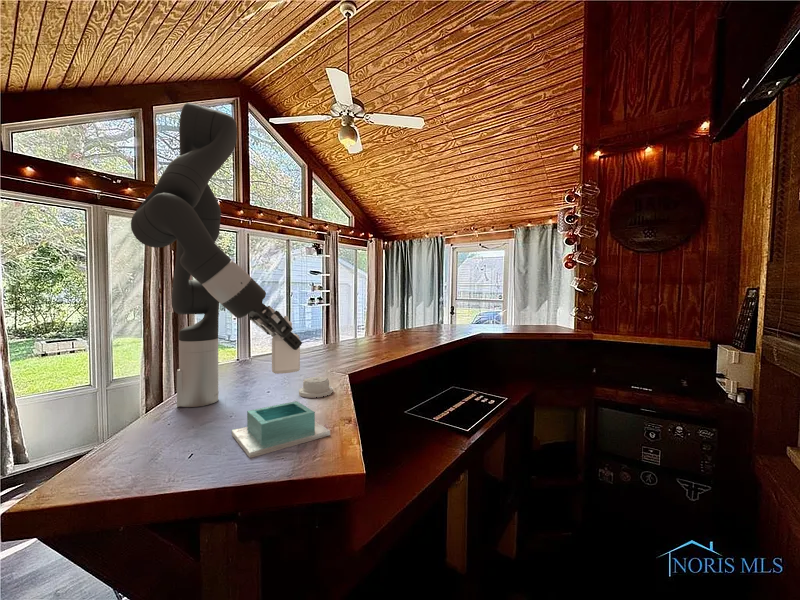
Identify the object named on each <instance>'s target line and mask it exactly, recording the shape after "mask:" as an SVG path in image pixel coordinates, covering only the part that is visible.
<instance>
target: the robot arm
mask: <svg viewBox="0 0 800 600" xmlns="http://www.w3.org/2000/svg"><path fill="white" fill-rule="evenodd" d="M178 131H179V133H178V134H179V135H178V136H179V156H177V157H176V158H174V159H173V160H172V161H170V162H169V164H168V165H167V166H166V168H165V170H164V171H163V173H162V174H161V176H160V177H159V179H158V181H157V184H155V187H154V189H153V190H152V191H151V192H150V194H149V195H148V196H147V197H146V198H145V200H144V201H143V202H142V203H141V204H140V206H138V208H137V209H136V211H135V212H134V214H133V215H132V216H131V221H130V228H131V231H132V234H133V235H134V237H135V239H136V240H137V241H139V242H140V243H141V244H143V245H144V246H146V247H149V248H156V249H157V248H166V247H168V246H169V245H171V244H173V243H174V242H176V253H175V254H176V258H175V266H174V273H173V282H172V288H171V289H172V293H171V305H172V307H171V308H172V309H173V312H174V313H176V314H178V315H204V316H203V317H202V319H201V320H199V321H198V322H196V323H194V324H191V325H189V326H186V327H184V328H181V329H179V332H178V369H177V370H176V407H183V408H196V407H197V408H198V407H204V406H209V405H211V404H214V403H216V402H218V401H219V392H220V391H219V316H220V315H219V314H220V313H219V312H220V304H221V305H222V306H223V307H224V308H225V309H226V310H227V311H228V312H229V313H231V314H232V315H233V316H234V317H235V318H237V319H241V318H244V317H245V316H247V315H249V316H248V320H249V321H251V322H252V323H254V324H255V325H256V326H257V327H259V328H260V329H261V330H262V331H264V332H265V333H266V334H267V335H269V336H271V337H272V338H273V336H275V335H278V336H279V337H280V338H281V339H283V340H284V341H285V342H286V343H287V344H288V345H289V346H290V347H291V348H292V349H294V350H297V349H298V348H299V347H301V346H302V345H303V342H302V341H301V339H300V340H299V339H298V338H297V337H296V336H295V335H294V334H295V333H294V332H293V326H292V327H291V326H290V325H289V324H288V322H287V321H286V320H285V319H284V315H282V314H281V312H280V311H278V310H275V309H274V308H273V307H271V306H270V305H267V306H266V304H265V303H263V301H264V299H265V298H266V295H267V293H266V291H265V290H264V288H262V287H261V286H260V284H258V283H257V281H255V279H253V278H252V277H251V276H250V274H249V273H247V272H246V270H244V268H242V267H241V266H240V265H239V264H238V263H236V262H234V260H233V259H231V258H230V257H229V256H228V255H227V253H225V252H224V251H223V250H222V249H221V247H219V246H218V245H217V244H216V241H217V240H218V238H219V236H220V228H221V219H222V218H221V217H222V210H221V206H220V203H219V202H218V199H217V198H216V195H215V194H214V192H213V190H212V189H211V186H210V185H209V181H210V180H211V178H212V177H213V176H214V175H215V174H216V173H217V172H218V171H219V170H220V168H221V167H222V166H223V165H224V164H225V163H226V161H228V159H229V158H230V157H231V155H232V154H233V152H234V150H235V147H236V144H237V138H238V127H237V123H236V120H235V119H234V117H232V116H231V115H229V114H227V113H225V112H222V111H219V110H216V109H213V108H209V107H206V106H202V105H199V104H196V103H192V102H186V103H185V104H184V105H183V106H182V108H181V112H180V115H179V129H178ZM191 277H192V278H193V279H190V278H191ZM282 328H284V330H283V331H281V329H282ZM293 333H294V334H293Z"/></svg>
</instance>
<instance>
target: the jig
mask: <svg viewBox="0 0 800 600" xmlns="http://www.w3.org/2000/svg"><path fill="white" fill-rule="evenodd" d="M246 413H247V415H246V417H247V418H246V419H247V420H246V423H247V425H246V426H245V427H239V428H235V429H231V436H232V437H233V438H234V440H235V441H236V442H237V443H238V445H239V446H240V448H241V449H242V450H243V452H244V453H245V454H246V455H247V457H248V458H249V459H252V458H257V457H258V456H259V457H260V456H263V455H265V454H266V455H267V454H269V453H273V452H276V451H280V450H283V449H287V448H290V447H295V446H298V445H301V444H304V443H307V442H311V441H314V440H315V441H316V440H318V439H322V438H326V437H330V436H331V430H330V429H328V428H326V427H325V426H323V425H322V424H321V423H320V422H317V421H316V417H315V416H316V415H315V414H316V412H315V411H314V410H313V409H311V408H309V407H307V406H306V405H304V404H303V403H301V402H299V401H298V400H295V401H290V402H286V403H280V404H276V405H275V404H274V405H270V406H266V407H262V408H256V409H251V410H250V409H249V410H247V411H246Z"/></svg>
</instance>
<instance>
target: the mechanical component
mask: <svg viewBox="0 0 800 600" xmlns="http://www.w3.org/2000/svg"><path fill="white" fill-rule="evenodd" d="M332 392H333V393H334V387H333V386H331V385H330V379H329V377H324V376H314V377H313V376H312V377H309V378H308V377H307V378H304V379H303V381H302V387H300V388H299V389H298V395H299V396H300V397H302V398H308V399H309V398H312V399H313V398H314V399H315V398H316V397H317V398H323V396H324V397H327V395H328V396H330V395H332V394H333V393H332ZM331 393H332V394H331Z"/></svg>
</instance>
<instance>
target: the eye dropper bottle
mask: <svg viewBox="0 0 800 600" xmlns="http://www.w3.org/2000/svg"><path fill="white" fill-rule="evenodd" d="M283 318H284V319H285V320H286V321H287V322H288V324H289V325H290V326H291V327H292V328H293V323H292V321H290V320H289V317H288V315H283ZM283 330H284V328H282V329H281V331H283ZM292 333H293V334H294V335H295V336H296V337H297V338H298V339H299V340H300V341H301V339H300V336H299V335H298V334H296V333H295V332H292ZM300 347H301V346H300ZM300 347H299V348H298V349H297V350H294V349H292V348H291V347H290V346H289V345H288V344H287V343H286V342H285V341H284V340H283V339H281V338H280V337H279V336H278V335H275V336H273V337H272V338H271V371H272V373H273V374H275V375H276V374H280V375H282V374H291V373H297V372H299V371H300V369H301V361H300V360H301V348H300Z"/></svg>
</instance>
